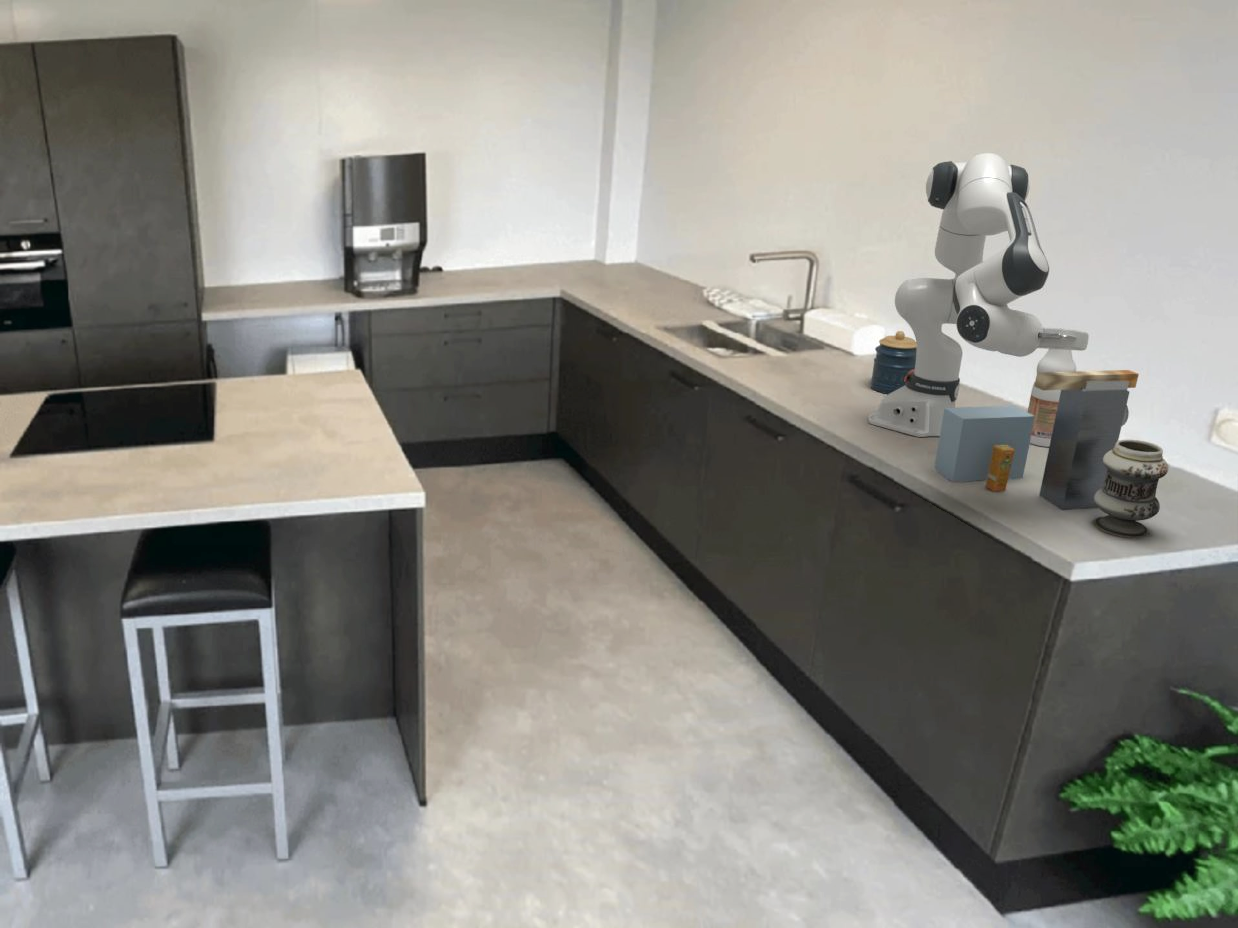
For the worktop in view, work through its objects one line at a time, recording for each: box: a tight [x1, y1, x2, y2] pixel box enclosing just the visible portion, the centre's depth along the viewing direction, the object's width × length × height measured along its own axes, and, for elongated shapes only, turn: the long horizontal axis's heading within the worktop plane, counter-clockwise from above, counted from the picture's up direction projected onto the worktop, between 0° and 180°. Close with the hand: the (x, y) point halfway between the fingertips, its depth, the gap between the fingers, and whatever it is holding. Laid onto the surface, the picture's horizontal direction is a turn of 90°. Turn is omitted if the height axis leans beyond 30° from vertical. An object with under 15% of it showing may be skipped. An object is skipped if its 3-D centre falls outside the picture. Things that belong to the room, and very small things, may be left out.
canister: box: [870, 330, 917, 395], centre depth 290 cm, size 13×13×18 cm
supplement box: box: [985, 445, 1015, 492], centre depth 219 cm, size 3×3×10 cm
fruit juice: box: [1027, 349, 1077, 448], centre depth 248 cm, size 9×9×28 cm
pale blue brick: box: [934, 405, 1035, 483], centre depth 226 cm, size 18×8×15 cm, turn 103°
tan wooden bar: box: [1034, 369, 1139, 391], centre depth 205 cm, size 22×3×3 cm, turn 103°
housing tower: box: [1039, 380, 1130, 511], centre depth 211 cm, size 12×8×28 cm, turn 103°
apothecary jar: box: [1094, 439, 1169, 539], centre depth 200 cm, size 12×12×18 cm
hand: (1055, 342), depth 207 cm, fingers open, 8 cm apart
